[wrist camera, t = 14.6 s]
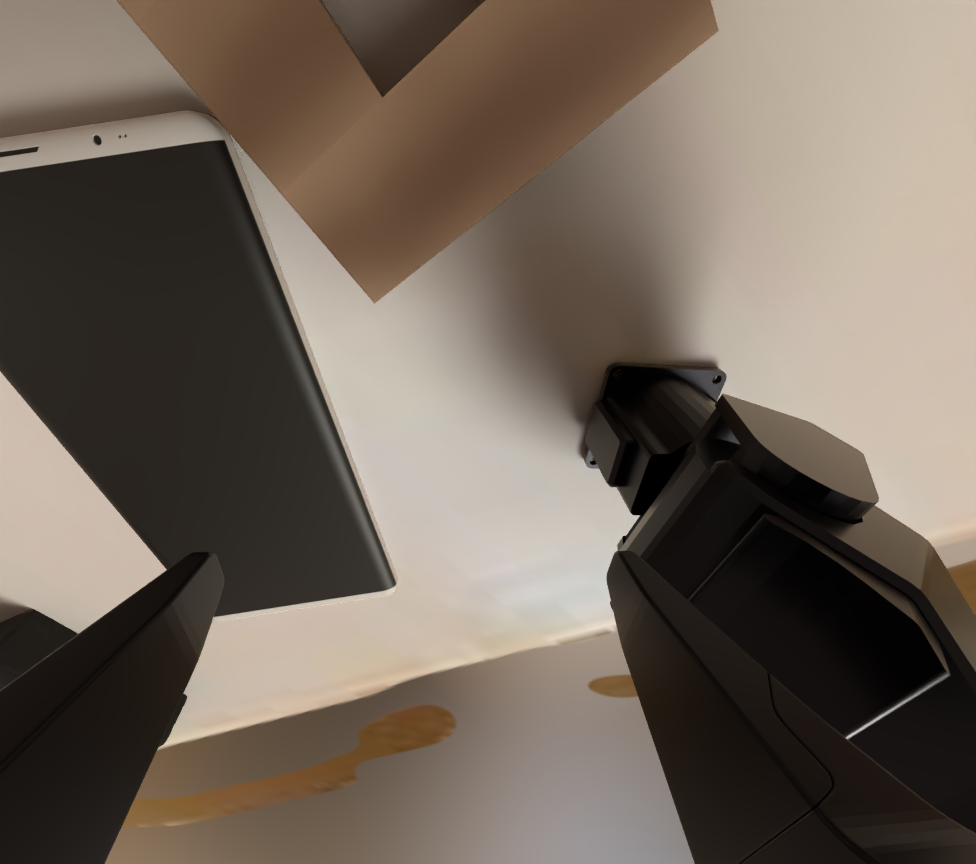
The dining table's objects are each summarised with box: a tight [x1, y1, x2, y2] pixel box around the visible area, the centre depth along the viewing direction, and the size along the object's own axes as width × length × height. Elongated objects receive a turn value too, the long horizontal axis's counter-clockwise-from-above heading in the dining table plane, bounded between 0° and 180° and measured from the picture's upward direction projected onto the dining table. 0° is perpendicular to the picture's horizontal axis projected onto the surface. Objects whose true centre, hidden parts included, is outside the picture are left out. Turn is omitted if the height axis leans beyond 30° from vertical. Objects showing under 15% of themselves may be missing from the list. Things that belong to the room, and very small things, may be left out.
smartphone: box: [0, 110, 398, 621], centre depth 22 cm, size 13×27×2 cm, turn 7°
